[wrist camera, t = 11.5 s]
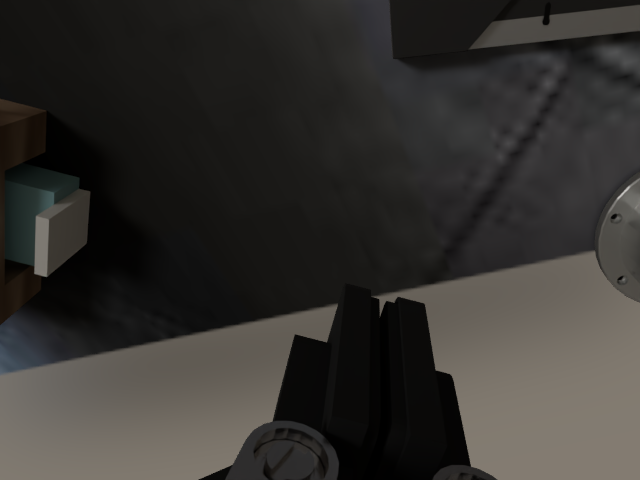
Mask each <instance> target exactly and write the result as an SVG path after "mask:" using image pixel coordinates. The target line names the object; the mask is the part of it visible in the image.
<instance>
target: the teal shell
mask: <svg viewBox="0 0 640 480" xmlns="http://www.w3.org/2000/svg"><path fill="white" fill-rule="evenodd" d="M79 179H80V178H79V177H75V176H71V175H67V174H63V173H59V172H55V171H52V170H48V169H44V168H40V167H36V166H32V165H28V164H24V163H21V164H18V165H16V166H14V167H12V168H10V169H8V170H5V259H8V260H12V261H16V262H20V263H24V264H28V265H32V266H35V270H34V274H37V275H41V276H45V277H47V276H49V275H50V274H51V273H52V272H53V271H55V270H56V269H57V268H58V267H59V266H61V265H62V264H63V263H64V262H65V261H67V260H68V259H69V258H70V257H71V256H72V255H74V254H75V253H76V252H77V251H78V250H80V249H81V248H82V247H83V246H84V245H86V244H87V233H88V218H89V204H90V191H86V190H82V189H79Z"/></svg>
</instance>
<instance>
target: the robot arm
mask: <svg viewBox="0 0 640 480" xmlns="http://www.w3.org/2000/svg"><path fill="white" fill-rule="evenodd" d="M614 214H615V215H614ZM612 215H614V216H613V217H611V216H612ZM595 252H596V258H597V260H598V263H599V266H600V268H601V270H602V272H603V273H604V275H605V276H606V277H607V279H608V280H609V281H610V282H611V284H612V285H613V286H614V287H615V288H616V289H617V290H619V291H620V292H621V293H623V294H624V295H625V296H627V297H629V298H631V299H633V300H635V301H637V302H640V172H638V173H637V174H635V175H634V176H632V177H631V178H630V179H629V180H627V181H626V182H625V183H624V184H623V185H622V186H621V187H620V188H619V189H618V190H617V191H616V192H615V193H614V195H613V196H612V197H611V198H610V200H609V201H608V202H607V204H606V206H605V208H604V210H603V212H602V213H601V215H600V218H599V221H598V225H597V228H596V234H595ZM379 311H380V310H379V299H377V298H373V297H371V290H370V289H366V288H362V287H358V286H354V285H350V284H346V283H345V285H344V287H343V290H342V293H341V297H340V300H339V303H338V307H337V310H336V314H335V317H334V321H333V324H332V328H331V331H330V334H329V338H328V341H327V343H326V342H323V341H318V340H315V339H311V338H307V337H303V336H299V335H295V336H294V340H293V344H292V347H291V351H290V355H289V359H288V362H287V366H286V370H285V374H284V378H283V382H282V386H281V390H280V393H279V397H278V402H277V405H276V410H275V414H274V418H273V422H270V423H266V424H263V425H262V426H260V427H258V428H256V429H255V430H254V431H253V432H252V433H251V434H250V435H249V437H248V438H247V439H246V441H245V443H244V444H243V446H242V448H241V450H240V452H239V454H238V456H237V458H236V460H235V462H234V463H233V465H231V466H229V467H227V468H225V469H222V470H220V471H218V472H215V473H213V474H211V475H209V476H206V477H204V478H202V479H199V480H497V479H496V478H494V477H493V476H492V475H490V474H488V473H486V472H484V471H482V470H480V469H477V468H473V467H471V464H470V459H469V455H468V450H467V445H466V440H465V435H464V430H463V425H462V420H461V415H460V411H459V406H458V401H457V396H456V391H455V386H454V381H453V378H452V376H451V375H450V374H447V373H444V372H440V371H436V370H435V364H434V358H433V352H432V346H431V340H430V333H429V327H428V321H427V315H426V309H425V304H424V303H420V302H416V301H412V300H408V299H405V298H401V297H398V298H397V299H396V301H395V303H393V302H388V301H386V303H385V305H384V308H383V310H382V313H381V316H380V312H379Z"/></svg>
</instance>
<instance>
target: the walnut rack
mask: <svg viewBox="0 0 640 480" xmlns="http://www.w3.org/2000/svg"><path fill="white" fill-rule="evenodd" d="M46 118H47V111H45V110H41V109H38V108H34V107H30V106H26V105H22V104H18V103H14V102H11V101H7V100H3V99H0V325H1V324H2V323H3V322H4V321H5V320H7V319H8V318H9V317H10V316H11V315H12V314H13V313H15V312H16V311H17V310H18V309H19V308H20V307H22V306H23V305H24V304H25V303H26V302H27V301H29V300H30V299H31V298H32V297H33V296H34V295H35V294H37V293H38V292H39V291H40V290H41V275H37V274H34V270H35V266H32V265H28V264H24V263H20V262H16V261H12V260H8V259H5V170H8V169H10V168H12V167H14V166H16V165H18V164H21V163H23V162H25V161H27V160H29V159H31V158H34V157H36V156H38V155H40V154H42V153H45V149H46Z"/></svg>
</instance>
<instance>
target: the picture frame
mask: <svg viewBox="0 0 640 480" xmlns="http://www.w3.org/2000/svg"><path fill="white" fill-rule="evenodd" d="M389 8H390V25H391V42H392V56H393V59H397V58H406V57H415V56H425V55H434V54H443V53H452V52H461V51H468V50H470V49H479V48H488V47H497V46H506V45H515V44H524V43H534V42H543V41H552V40H561V39H570V38H579V37H588V36H598V35H607V34H616V33H625V32H634V31H640V0H389Z"/></svg>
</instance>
